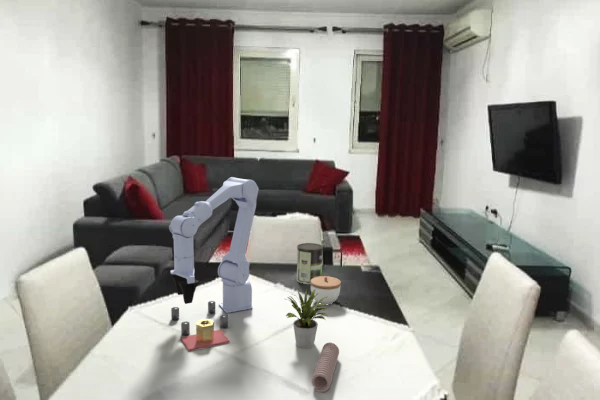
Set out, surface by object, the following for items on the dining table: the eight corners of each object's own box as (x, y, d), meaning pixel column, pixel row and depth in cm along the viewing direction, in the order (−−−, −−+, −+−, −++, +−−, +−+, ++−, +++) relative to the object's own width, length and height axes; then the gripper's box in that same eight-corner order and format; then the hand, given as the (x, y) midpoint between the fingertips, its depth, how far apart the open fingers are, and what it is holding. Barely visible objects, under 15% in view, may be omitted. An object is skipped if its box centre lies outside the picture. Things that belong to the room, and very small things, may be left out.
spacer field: (214, 310, 159) (214, 300, 159) (229, 327, 147) (229, 316, 146) (170, 318, 152) (170, 307, 152) (182, 336, 140) (182, 325, 139)
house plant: (290, 361, 127) (291, 304, 125) (269, 339, 139) (270, 286, 137) (335, 350, 134) (338, 295, 131) (312, 330, 146) (313, 280, 143)
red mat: (220, 331, 144) (220, 329, 144) (229, 342, 137) (229, 340, 137) (181, 339, 138) (181, 337, 138) (188, 351, 132) (188, 349, 131)
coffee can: (321, 276, 196) (322, 243, 194) (322, 285, 186) (323, 250, 183) (296, 275, 196) (297, 242, 194) (295, 284, 186) (296, 249, 184)
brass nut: (211, 334, 141) (211, 317, 140) (216, 340, 137) (216, 323, 136) (194, 337, 138) (193, 321, 138) (198, 344, 135) (198, 327, 134)
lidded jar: (305, 304, 166) (306, 278, 165) (316, 294, 176) (316, 270, 174) (334, 310, 162) (335, 283, 161) (343, 299, 172) (345, 274, 170)
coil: (322, 341, 131) (309, 375, 113) (339, 341, 130) (329, 375, 112) (323, 356, 132) (311, 393, 114) (340, 357, 131) (330, 394, 113)
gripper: (164, 250, 147) (165, 292, 149) (177, 264, 135) (178, 309, 137) (186, 248, 151) (187, 289, 153) (201, 260, 138) (201, 305, 141)
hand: (184, 298), depth 145 cm, fingers open, 7 cm apart
